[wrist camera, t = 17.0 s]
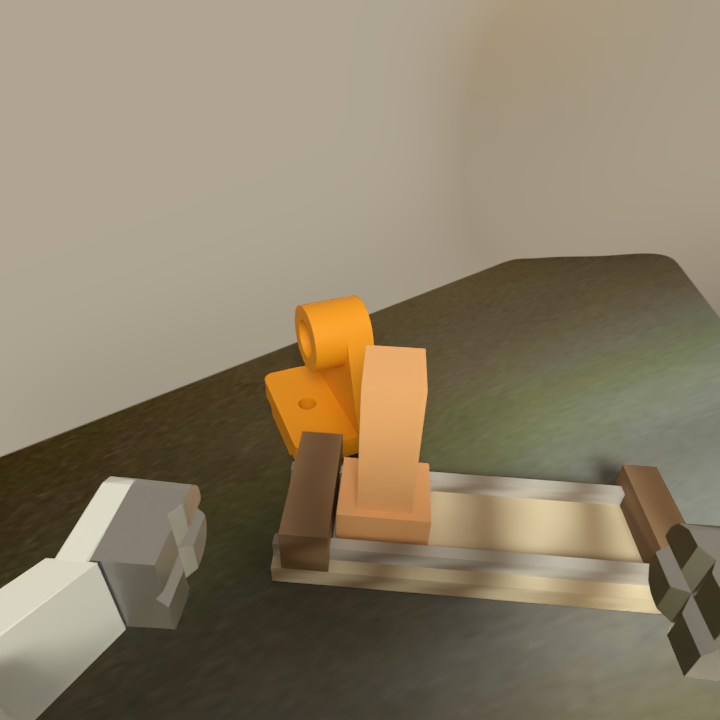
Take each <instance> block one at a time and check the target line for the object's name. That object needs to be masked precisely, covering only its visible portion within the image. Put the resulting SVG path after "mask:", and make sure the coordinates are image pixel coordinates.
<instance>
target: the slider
mask: <svg viewBox="0 0 720 720" xmlns="http://www.w3.org/2000/svg"><path fill="white" fill-rule="evenodd" d="M427 392H428V389H427V369H426V349H420V348H405V347H389V346H374V345H366V350H365V359H364V367H363V376H362V384H361V406H360V433H359V458H350V457H344V462H343V469H342V477H341V484H340V491H339V499H338V506H337V513H336V538H341V539H353V540H365V541H377V542H390V543H402V544H414V545H427V546H428V540H429V534H430V528H431V500H430V478H429V463H418V461H419V453H420V445H421V438H422V430H423V422H424V415H425V407H426V400H427Z"/></svg>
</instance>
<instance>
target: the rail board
mask: <svg viewBox="0 0 720 720" xmlns="http://www.w3.org/2000/svg"><path fill="white" fill-rule="evenodd" d="M342 457H343V434H333V433H319V432H305V431H302V435H301V440H300V444H299V448H298V452H297V456H296V460H295V461H292V465H291V469H290V470H291V481H290V486H289V490H288V494H287V498H286V502H285V506H284V511H283V515H282V519H281V523H280V527H279V532H278V533H275V534H274V538H273V542H272V547H273V559H272V563H271V575H272V581H282V582H294V583H306V584H317V585H329V586H341V587H352V588H364V589H376V590H387V591H399V592H411V593H422V594H434V595H446V596H457V597H469V598H481V599H492V600H504V601H516V602H527V603H539V604H551V605H562V606H574V607H586V608H597V609H609V610H621V611H632V612H644V613H656V614H662V613H661V612H660V611H659V610H658V609H657V608H656V606H655V603H654V600H653V598H652V595H651V592H650V587H649V582H648V575H649V564H650V562H651V560H652V558H653V556H654V554H655V552H657V551H659V550H661V549H663V548H665V547H667V546H669V544H668V541H667V539H666V537H665V536H666V534H667V533H668V531H669V529H670V528H671V527H672V526H674V525H676V524H678V523H683V524H686V523H685V521H684V519H683V517H682V515H681V513H680V511H679V510H678V508H677V506H676V504H675V502H674V500H673V498H672V496H671V494H670V492H669V490H668V488H667V486H666V485H665V483H664V481H663V479H662V477H661V475H660V473H659V471H658V469H657V467H649V466H636V465H622V467H621V470H620V472H619V474H618V476H617V478H616V481H615V483H614V485H601V484H587V483H574V482H561V481H547V480H534V479H521V478H508V477H494V476H481V475H468V474H454V473H441V472H429V478H430V500H431V528H430V534H429V540H428V546H427V545H414V544H402V543H390V542H377V541H365V540H353V539H341V538H336V513H337V506H338V499H339V491H340V484H341V477H342V469H343V465H342Z"/></svg>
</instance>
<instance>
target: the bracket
mask: <svg viewBox="0 0 720 720" xmlns="http://www.w3.org/2000/svg"><path fill="white" fill-rule="evenodd" d="M295 328H296V335H297V341H298V345H299V349H300V352H301V355H302V358H303V361H304V363H305V366H301V367H296V368H292V369H287V370H283V371H278V372H273V373H270V374H268V375H267V376H266V378H265V385H266V395H267V399H268V401H269V403H270V405H271V409H272V415H273V417H274V420H275V422H276V424H277V427H278V429H279V431H280V433H281V436H282V438H283V440H284V443H285V445H286V447H287V450H288V452H289V454H290V455H293V458H294V460H296V456H297V452H298V448H299V444H300V440H301V435H302V431H305V432H319V433H333V434H343V457H347V456H350V455H354V454H357V453H359V433H360V406H361V384H362V376H363V367H364V359H365V350H366V345H374V341H373V333H372V326H371V322H370V318H369V315H368V312H367V310H366V307H365V305H364V304H363V302H362V300H361V299H360V298H359V297H357V296H348V297H343V298H337V299H331V300H326V301H321V302H315V303H310V304H304V305H298V306H297V308H296V311H295ZM343 457H342V458H343Z"/></svg>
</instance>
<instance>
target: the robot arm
mask: <svg viewBox="0 0 720 720" xmlns="http://www.w3.org/2000/svg"><path fill="white" fill-rule="evenodd" d="M200 500H201V495H200V492H199V488H198V485H190V484H181V483H172V482H163V481H153V480H144V479H134V478H123V477H112V476H110V477H109V478H108V479H107V480H105V481H104V482H103V483H102V484H101V485H100V487H99V489H98V490H97V492H96V493H95V495H94V497H93V498H92V500H91V501H90V503H89V505H88V506H87V508H86V509H85V511H84V513H83V514H82V516H81V517H80V519H79V521H78V522H77V524H76V525H75V527H74V529H73V530H72V532H71V533H70V535H69V537H68V538H67V540H66V541H65V543H64V545H63V546H62V548H61V549H60V551H59V553H58V554H57V556H56V557H55V558H45V559H44V560H42V561H41V562H39V563H38V564H36V565H35V566H33V567H32V568H30V569H29V570H27V571H26V572H24V573H23V574H22V575H20V576H19V577H17V578H16V579H14V580H13V581H11V582H10V583H8V584H7V585H5V586H4V587H2V588H1V589H0V720H36V719H37V718H38V717H39V716H40V715H41V714H42V713H43V712H44V711H45V710H46V709H47V708H48V707H49V706H50V705H51V704H52V703H53V702H54V701H55V700H56V699H57V698H58V697H59V696H60V695H61V694H62V693H63V692H64V691H65V690H66V689H67V688H68V687H69V686H70V685H71V684H72V683H73V682H74V681H75V680H76V679H77V678H78V677H79V676H80V675H81V674H82V673H83V672H84V671H85V670H86V669H87V668H88V667H89V666H90V665H91V664H92V663H93V662H94V661H95V660H96V659H97V658H98V657H99V656H100V655H101V654H102V653H103V652H104V651H105V650H106V649H107V648H108V647H109V646H110V645H111V644H112V643H113V642H114V641H115V640H116V639H117V638H118V637H119V636H120V635H121V634H122V633H123V632H124V631H125V630H126V627H125V626H134V627H150V628H165V629H176V628H177V625H178V622H179V619H180V617H181V614H182V611H183V609H184V606H185V603H186V600H187V598H188V595H189V592H190V591H189V587H188V583H187V579H186V578H187V577H188V576H189V575H190V574H192V573H193V572H194V571H195V570H196V569H197V568H199V565H200V562H201V559H202V556H203V553H204V548H205V542H206V537H207V523H206V518H205V514H204V513H202V512H201V511H200V510H199V509H198V505H199V503H200ZM665 537H666V539H667V541H668V544H669V546H667V547H665V548H663V549H661V550H659V551H657V552H655V554H654V556H653V558H652V560H651V562H650V564H649V575H648V582H649V587H650V592H651V595H652V598H653V600H654V603H655V606H656V608H657V609H658V610H659V611H660V612H661V613H662V614H663V615H664V616H665V617H666V618H667V619H668V620H669V621H671V624H670V627H669V630H668V633H667V636H668V638H669V641H670V643H671V646H672V648H673V650H674V653H675V655H676V658H677V660H678V663H679V665H680V668H681V670H682V673H683V675H684V677H690V678H699V679H707V680H715V681H720V526H713V525H698V524H683V523H678V524H676V525H674V526H672V527H671V528H670V529H669V531H668V533H667V534H666V536H665Z"/></svg>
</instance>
